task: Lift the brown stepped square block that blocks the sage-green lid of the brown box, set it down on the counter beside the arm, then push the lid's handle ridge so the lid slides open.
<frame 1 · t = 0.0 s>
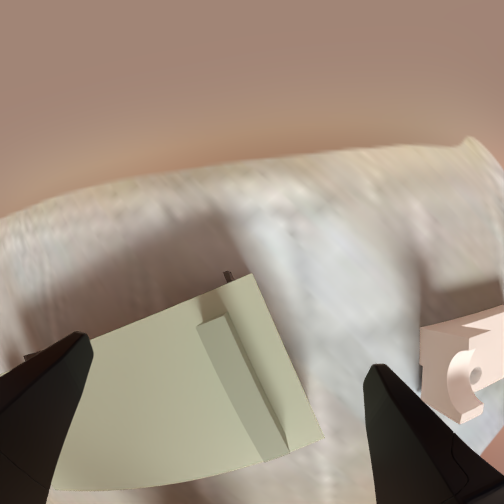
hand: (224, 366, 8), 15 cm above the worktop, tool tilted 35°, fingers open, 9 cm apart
lid: (114, 426, 15), point 7 cm above the worktop, slide at 0.0 cm
bracket: (464, 348, 23), on the worktop
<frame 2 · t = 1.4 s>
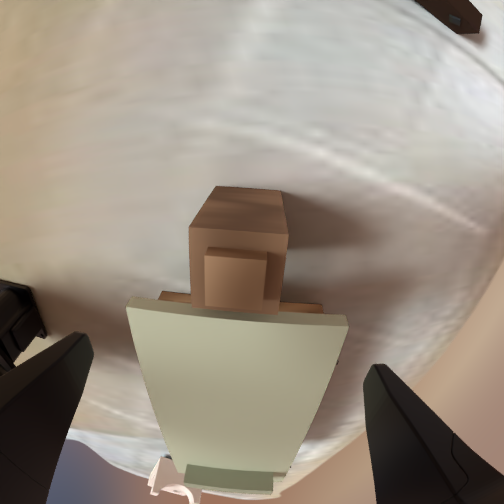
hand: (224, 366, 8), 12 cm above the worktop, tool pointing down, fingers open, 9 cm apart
brown box: (236, 389, 26), on the worktop
lid: (229, 441, 20), point 7 cm above the worktop, slide at 0.0 cm
bracket: (175, 467, 39), on the worktop
brown stepped square block: (246, 218, 19), on the worktop
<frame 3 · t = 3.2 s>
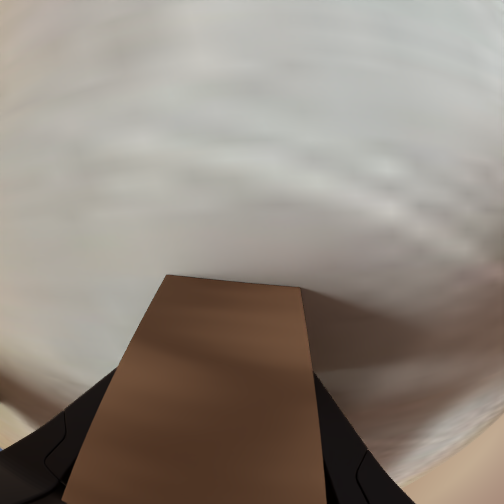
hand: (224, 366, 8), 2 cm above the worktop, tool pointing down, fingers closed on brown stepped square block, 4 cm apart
brown stepped square block: (229, 332, 10), on the worktop, touching gripper
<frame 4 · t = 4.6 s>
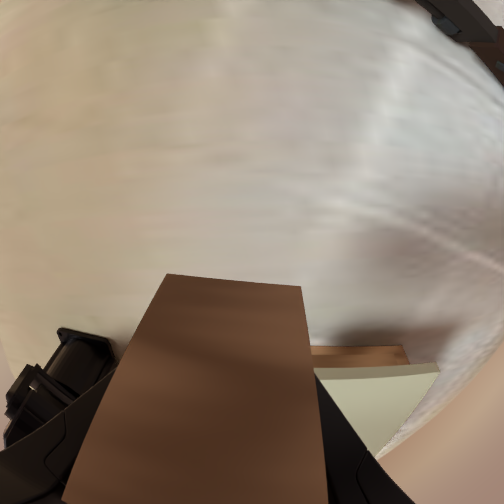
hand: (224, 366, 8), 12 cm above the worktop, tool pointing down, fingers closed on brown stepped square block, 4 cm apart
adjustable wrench: (421, 16, 12), on the worktop
brown box: (314, 414, 28), on the worktop
lid: (323, 462, 21), point 7 cm above the worktop, slide at 0.0 cm
brown stepped square block: (230, 331, 10), point 10 cm above the worktop, touching gripper
when the fingers open (3 cm above the worktop, at t = 6.4 s): brown stepped square block drops 1 cm, on the worktop.
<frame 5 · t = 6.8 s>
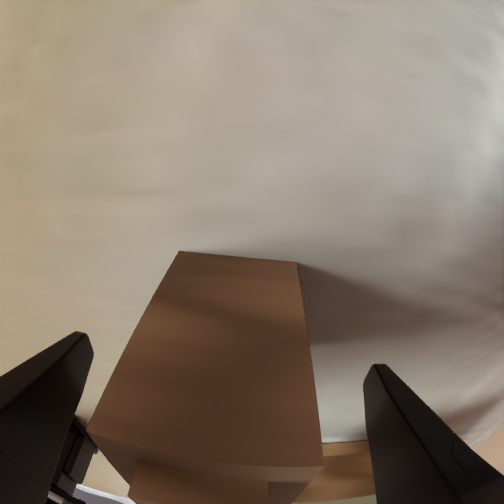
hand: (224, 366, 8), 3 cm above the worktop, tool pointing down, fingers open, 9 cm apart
brown box: (321, 487, 21), on the worktop
brown stepped square block: (233, 304, 11), on the worktop
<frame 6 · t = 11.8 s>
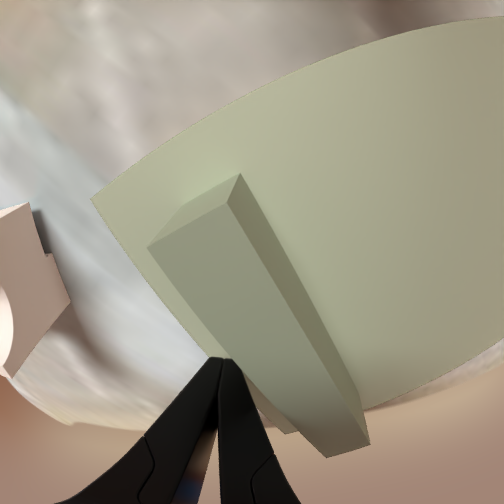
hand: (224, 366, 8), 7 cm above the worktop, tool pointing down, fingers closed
bracket: (2, 255, 16), on the worktop
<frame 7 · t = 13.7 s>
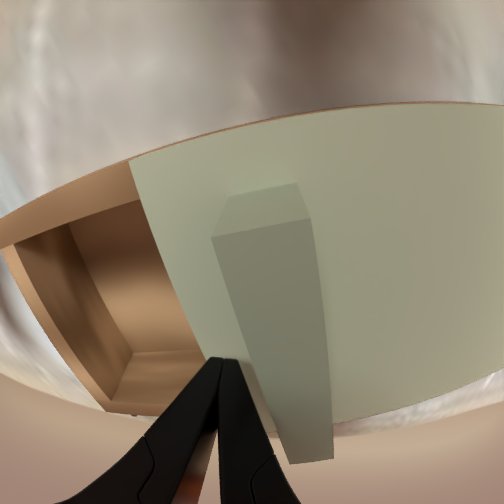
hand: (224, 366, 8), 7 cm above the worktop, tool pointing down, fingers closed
brown box: (274, 249, 14), on the worktop
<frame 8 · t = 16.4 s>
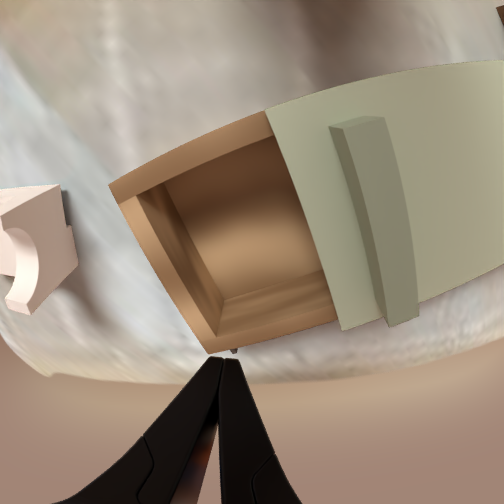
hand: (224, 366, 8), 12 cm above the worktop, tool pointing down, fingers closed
brown box: (335, 187, 18), on the worktop
bracket: (24, 221, 21), on the worktop
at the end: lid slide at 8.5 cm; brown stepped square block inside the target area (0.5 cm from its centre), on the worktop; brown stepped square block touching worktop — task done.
